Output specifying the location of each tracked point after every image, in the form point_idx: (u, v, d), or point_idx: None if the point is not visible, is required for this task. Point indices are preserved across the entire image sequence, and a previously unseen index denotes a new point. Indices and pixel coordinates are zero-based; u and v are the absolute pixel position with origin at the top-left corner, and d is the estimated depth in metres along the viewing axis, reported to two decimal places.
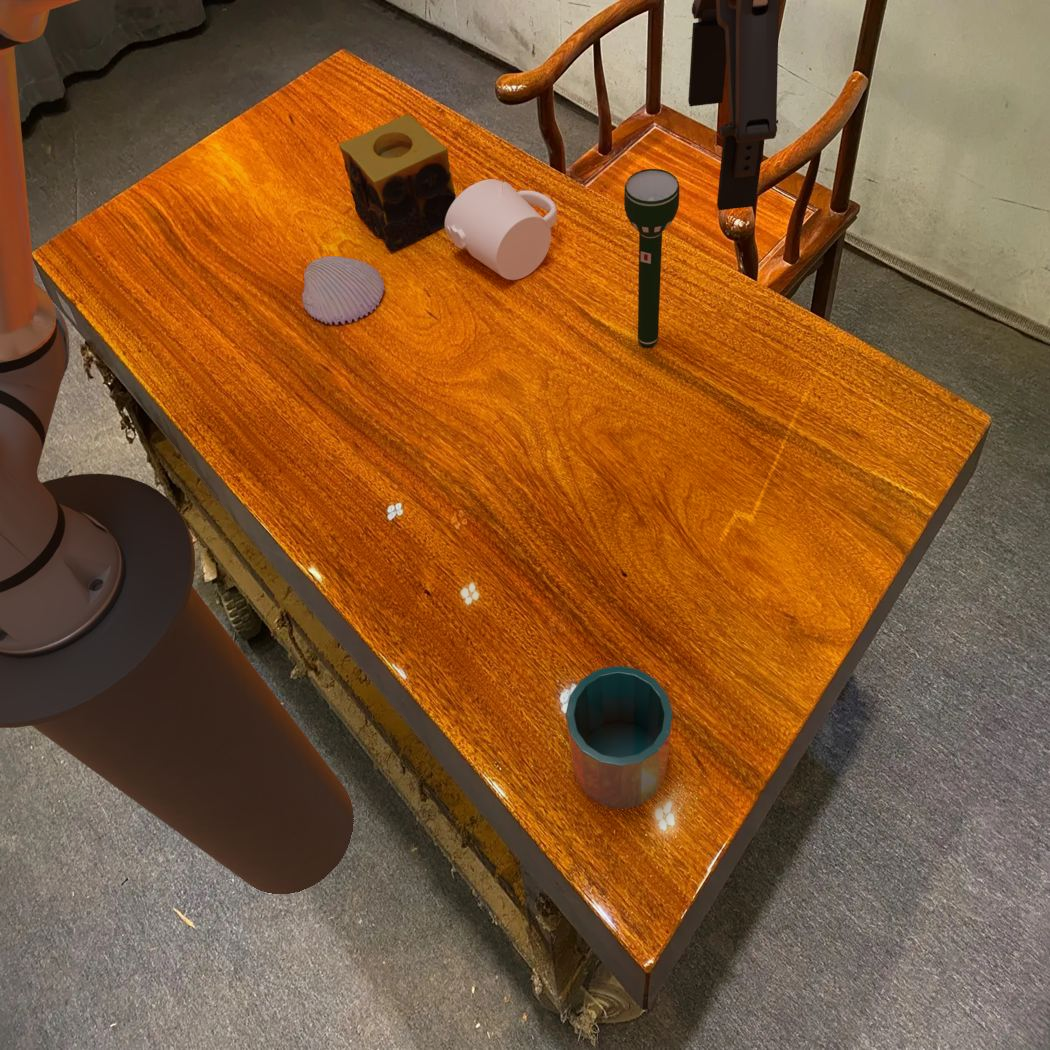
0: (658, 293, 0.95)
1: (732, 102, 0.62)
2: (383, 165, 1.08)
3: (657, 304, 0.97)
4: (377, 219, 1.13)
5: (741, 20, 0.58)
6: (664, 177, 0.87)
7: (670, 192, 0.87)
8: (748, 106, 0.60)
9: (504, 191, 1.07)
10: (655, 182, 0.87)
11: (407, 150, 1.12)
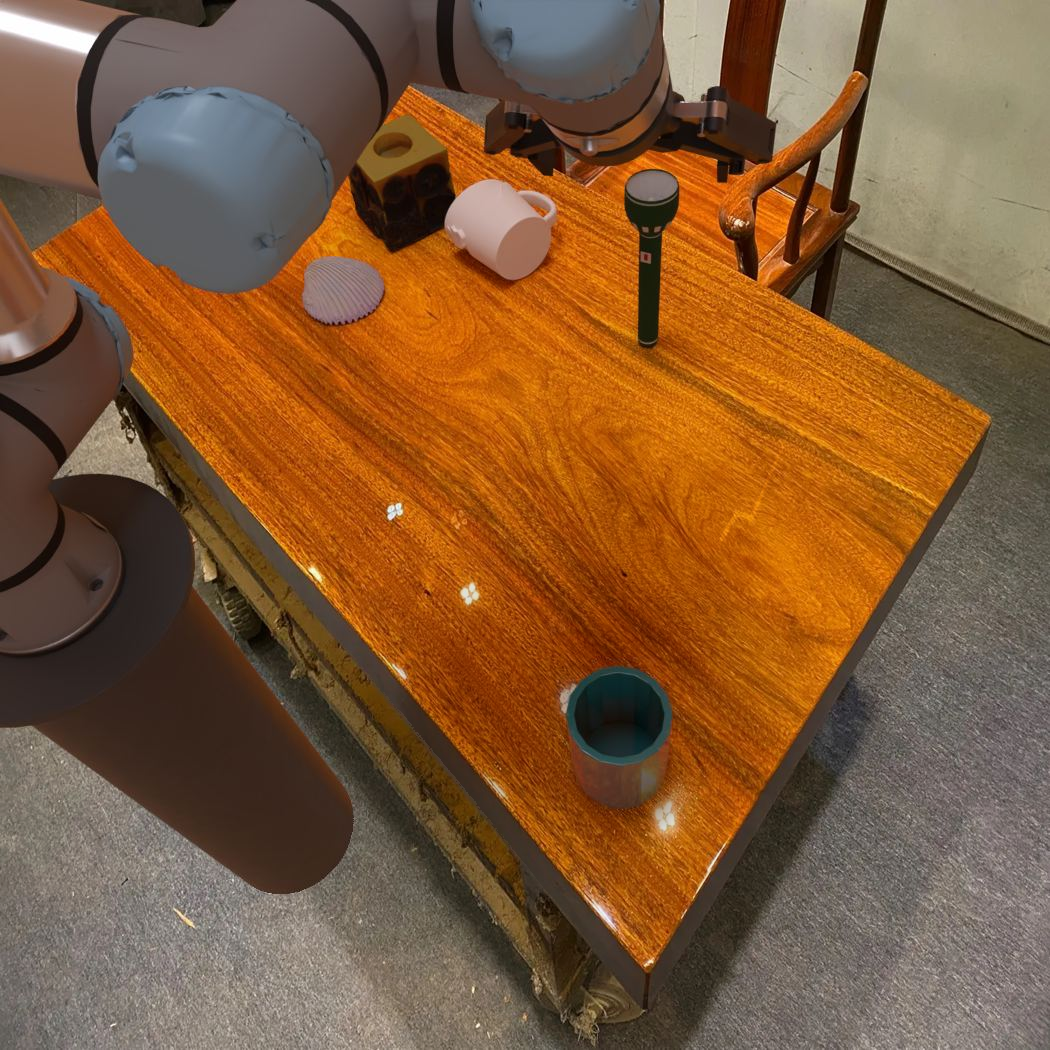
0: (658, 293, 0.95)
1: None
2: (383, 165, 1.08)
3: (657, 304, 0.97)
4: (377, 219, 1.13)
5: None
6: (664, 177, 0.87)
7: (670, 192, 0.87)
8: (490, 119, 0.65)
9: (504, 191, 1.07)
10: (655, 182, 0.87)
11: (407, 150, 1.12)
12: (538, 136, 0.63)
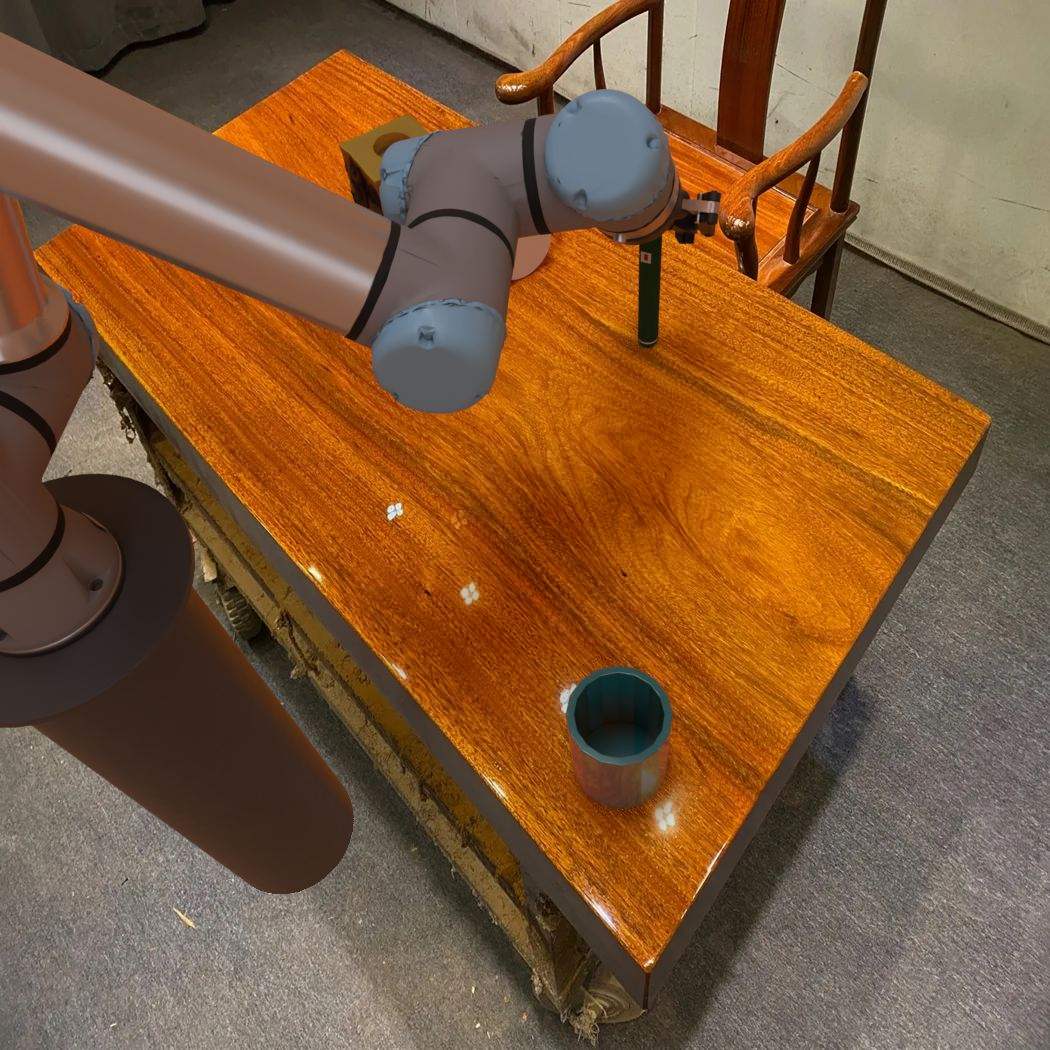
0: (658, 293, 0.95)
1: None
2: None
3: (657, 304, 0.97)
4: None
5: None
6: None
7: None
8: None
9: None
10: None
11: None
12: None
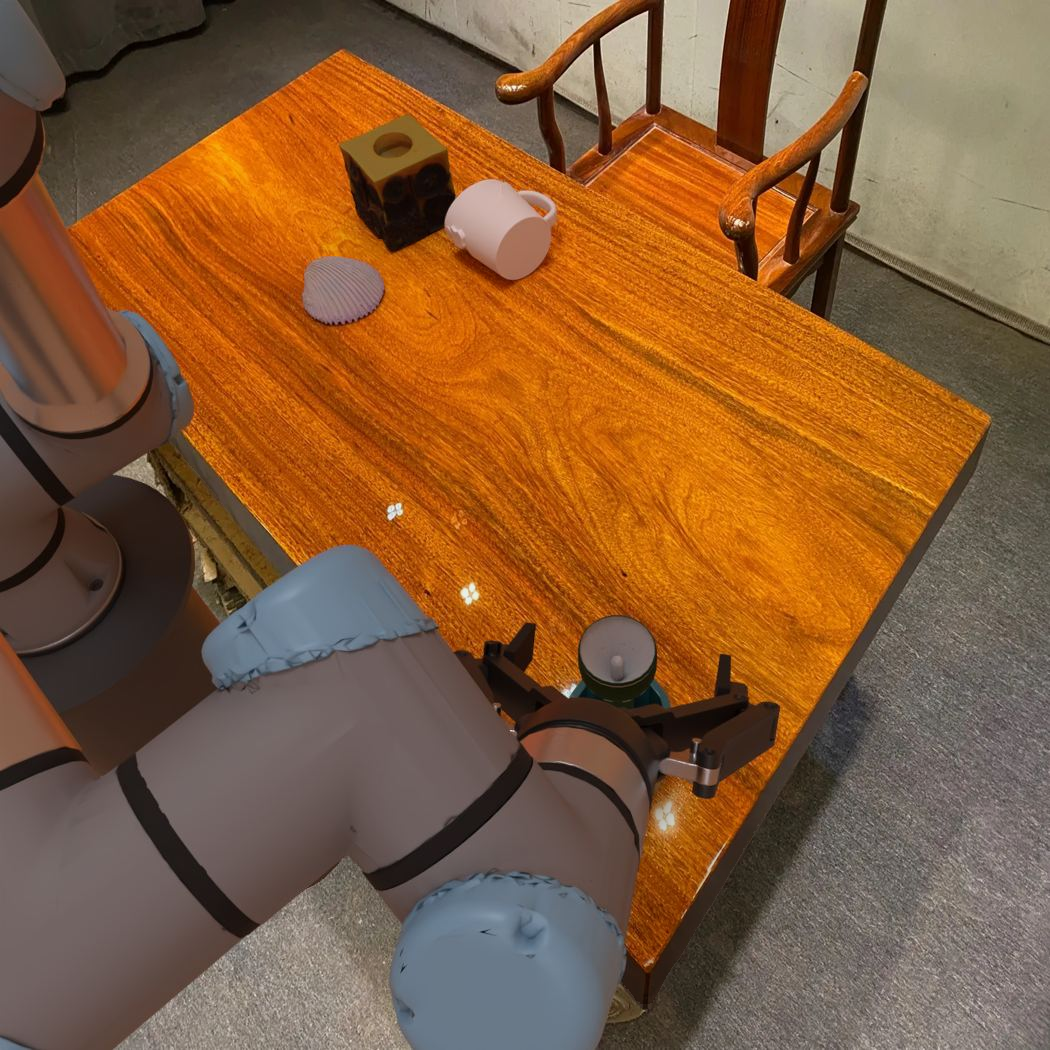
0: None
1: (494, 663, 0.58)
2: (383, 165, 1.08)
3: None
4: (377, 219, 1.13)
5: None
6: (636, 627, 0.60)
7: (644, 648, 0.60)
8: None
9: (504, 191, 1.07)
10: (623, 630, 0.61)
11: (407, 150, 1.12)
12: (509, 707, 0.56)
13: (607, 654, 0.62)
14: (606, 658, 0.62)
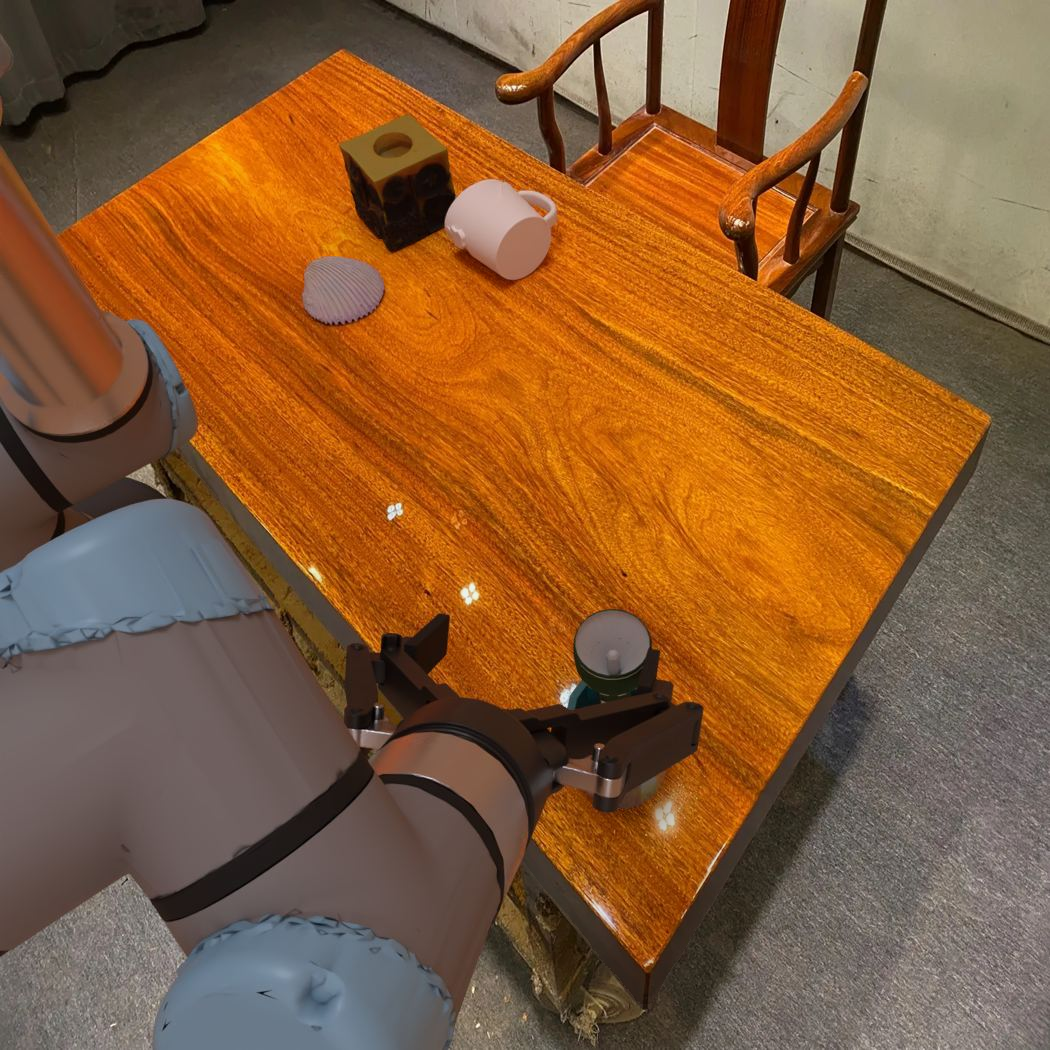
0: None
1: (390, 658, 0.52)
2: (383, 165, 1.08)
3: None
4: (377, 219, 1.13)
5: (354, 694, 0.47)
6: (631, 620, 0.60)
7: (639, 642, 0.60)
8: (347, 667, 0.52)
9: (504, 190, 1.07)
10: (619, 624, 0.61)
11: (407, 150, 1.12)
12: (403, 707, 0.50)
13: (603, 649, 0.62)
14: (602, 652, 0.62)
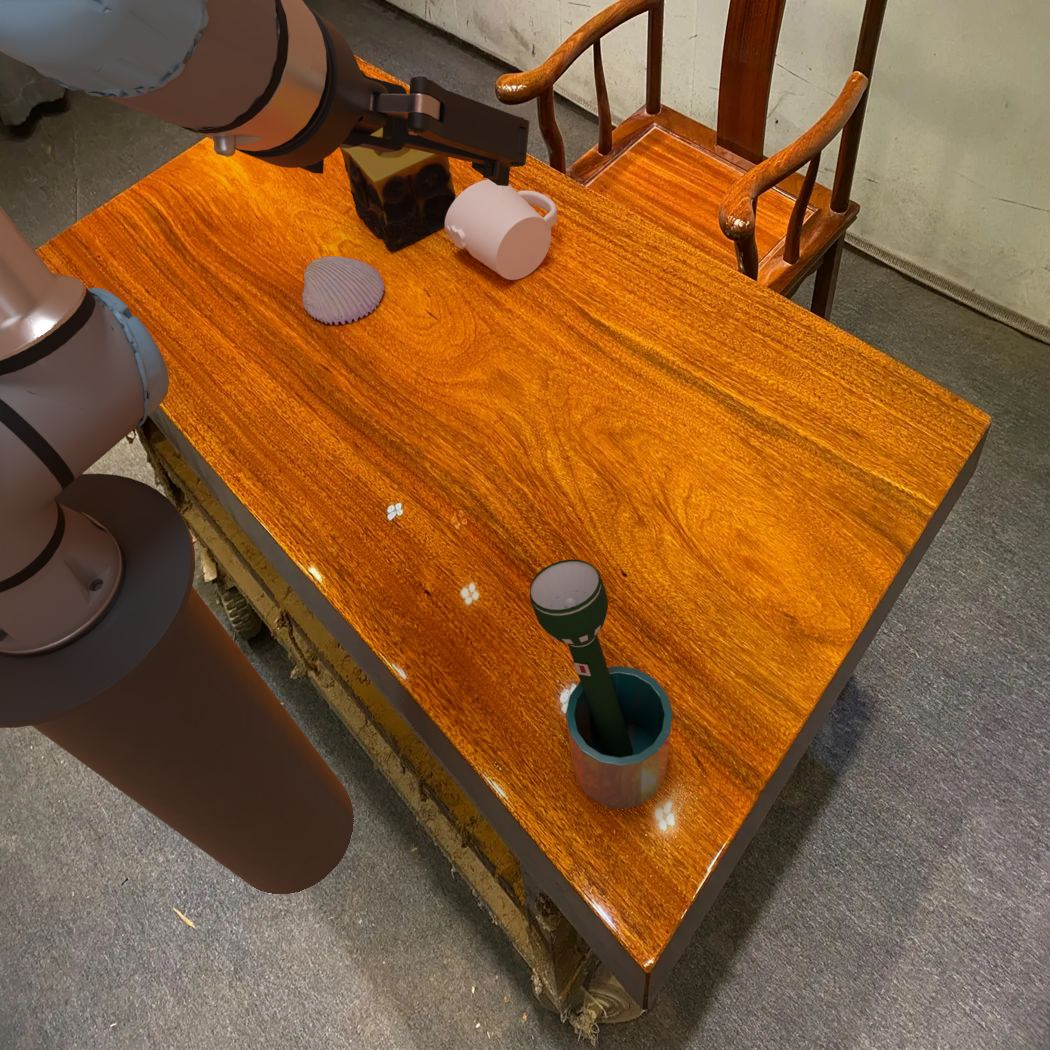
0: (615, 705, 0.70)
1: None
2: (383, 165, 1.08)
3: (618, 718, 0.70)
4: (377, 219, 1.13)
5: None
6: (583, 568, 0.64)
7: (593, 587, 0.64)
8: None
9: (504, 191, 1.07)
10: (573, 576, 0.65)
11: (407, 150, 1.12)
12: None
13: (563, 603, 0.65)
14: (563, 607, 0.65)
